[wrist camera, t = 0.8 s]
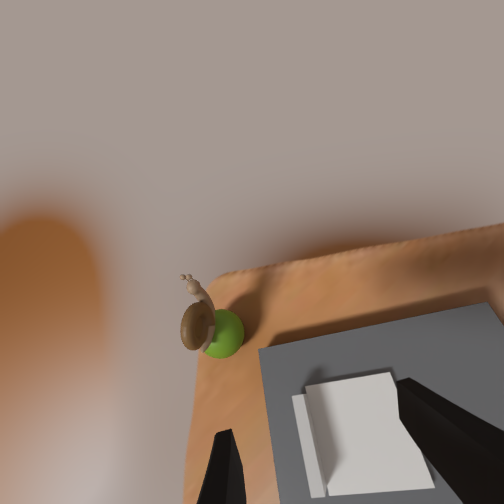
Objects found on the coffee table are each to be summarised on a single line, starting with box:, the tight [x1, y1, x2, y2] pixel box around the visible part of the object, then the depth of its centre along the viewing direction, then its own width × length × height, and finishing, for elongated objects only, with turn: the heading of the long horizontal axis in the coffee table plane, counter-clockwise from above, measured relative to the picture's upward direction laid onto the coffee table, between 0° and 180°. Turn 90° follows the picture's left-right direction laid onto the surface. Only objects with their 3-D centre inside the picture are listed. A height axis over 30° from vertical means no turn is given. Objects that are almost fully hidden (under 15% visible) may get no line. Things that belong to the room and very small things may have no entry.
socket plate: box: [258, 302, 504, 504], centre depth 22 cm, size 14×22×2 cm, turn 99°
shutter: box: [292, 372, 435, 498], centre depth 20 cm, size 8×9×3 cm
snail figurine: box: [180, 274, 244, 359], centre depth 26 cm, size 5×6×12 cm
